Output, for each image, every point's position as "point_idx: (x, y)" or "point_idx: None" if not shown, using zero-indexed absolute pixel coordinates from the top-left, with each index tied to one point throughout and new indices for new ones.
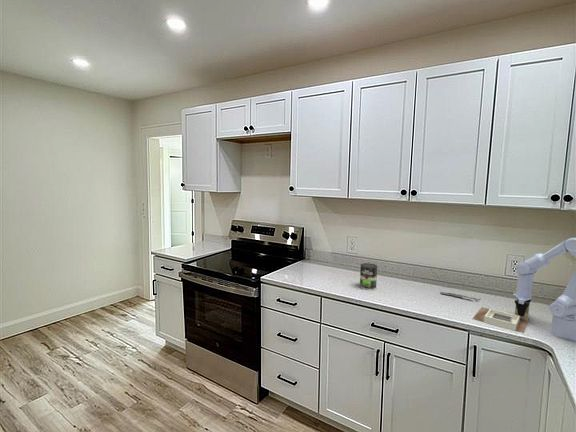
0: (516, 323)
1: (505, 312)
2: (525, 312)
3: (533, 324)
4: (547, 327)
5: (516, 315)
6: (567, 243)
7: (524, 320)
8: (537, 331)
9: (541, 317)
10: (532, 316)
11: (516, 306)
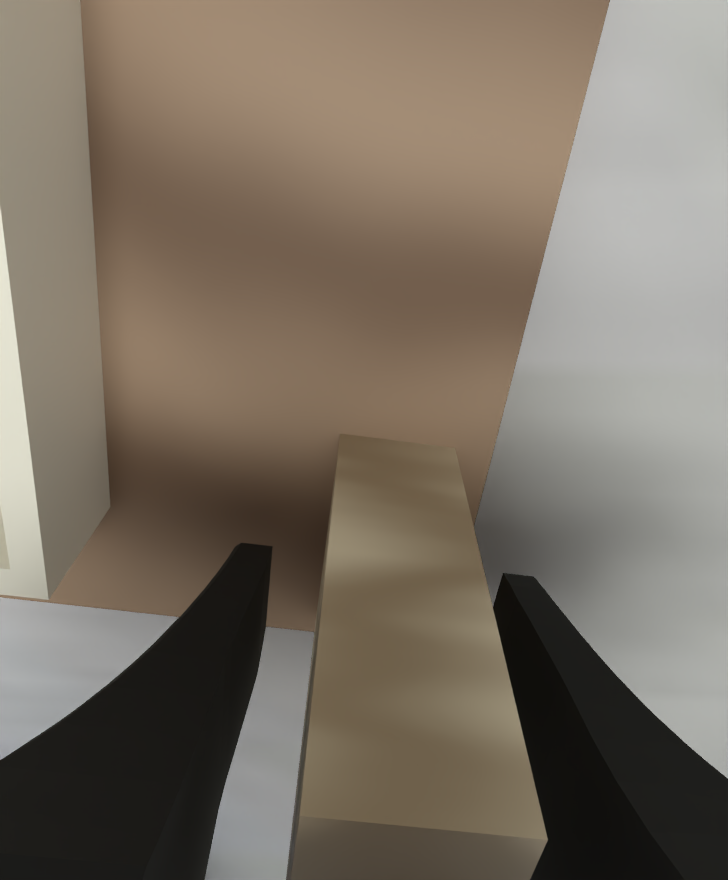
0: None
1: (3, 284)
2: (305, 716)
3: (279, 658)
4: (292, 778)
5: (16, 536)
6: None
7: (284, 578)
8: (6, 682)
9: (700, 753)
10: (685, 665)
11: (320, 649)
